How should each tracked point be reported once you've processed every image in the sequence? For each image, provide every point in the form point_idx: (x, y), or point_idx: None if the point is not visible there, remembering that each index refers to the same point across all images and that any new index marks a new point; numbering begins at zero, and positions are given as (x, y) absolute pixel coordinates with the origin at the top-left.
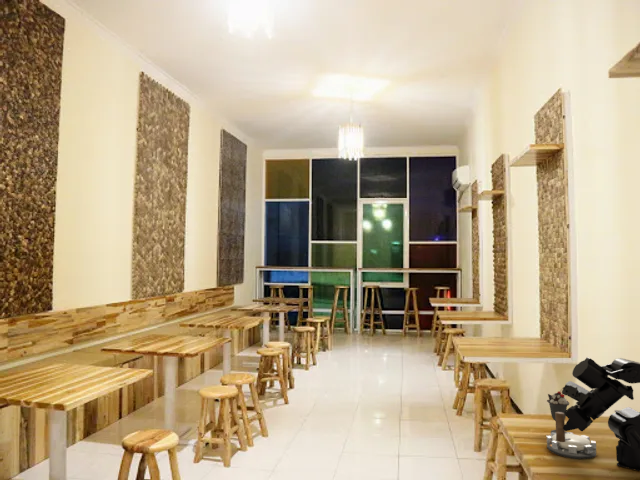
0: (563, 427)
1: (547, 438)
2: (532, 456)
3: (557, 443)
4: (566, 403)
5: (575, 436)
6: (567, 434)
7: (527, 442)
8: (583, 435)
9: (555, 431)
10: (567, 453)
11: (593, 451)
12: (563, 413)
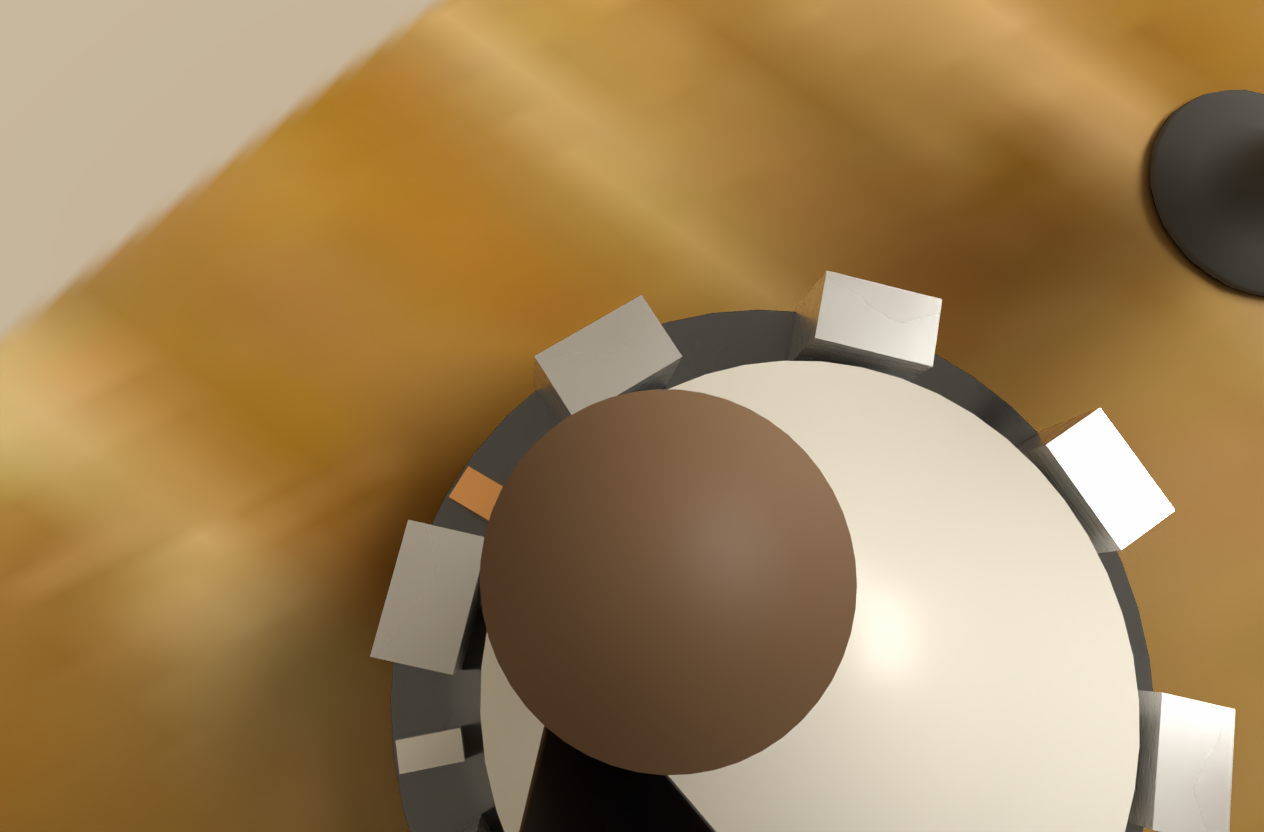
0: (542, 743)
1: (537, 370)
2: (37, 435)
3: (379, 657)
4: None
5: (1031, 657)
6: (1002, 505)
7: (538, 101)
8: (1206, 723)
9: (1216, 155)
10: (415, 827)
11: None
12: (765, 710)
